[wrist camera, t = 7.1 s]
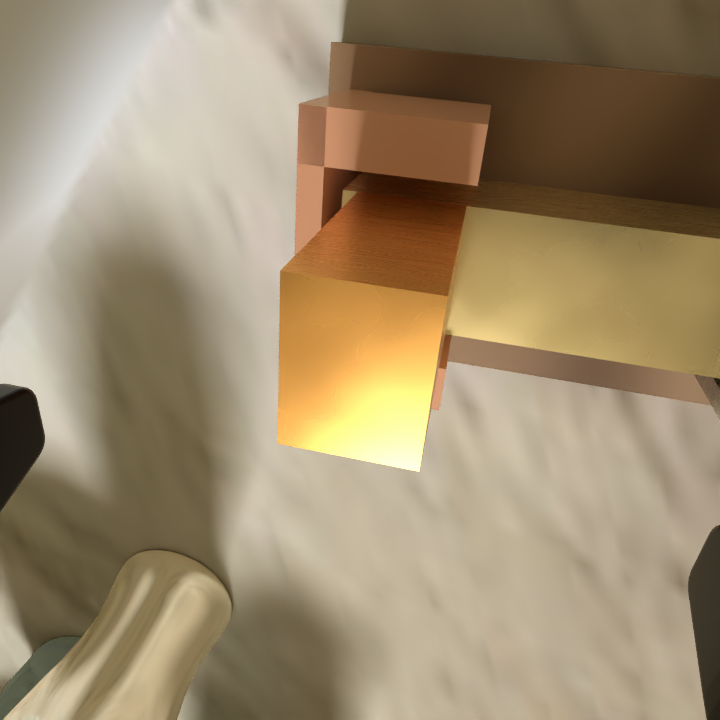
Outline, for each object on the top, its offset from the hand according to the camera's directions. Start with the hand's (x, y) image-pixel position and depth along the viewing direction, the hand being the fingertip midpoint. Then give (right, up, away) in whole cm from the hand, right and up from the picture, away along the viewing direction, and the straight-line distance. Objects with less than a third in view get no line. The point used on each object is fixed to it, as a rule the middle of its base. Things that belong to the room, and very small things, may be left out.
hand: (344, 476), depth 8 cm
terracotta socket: (+2, +6, +10) cm, 12 cm away
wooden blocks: (+6, +4, +9) cm, 12 cm away
